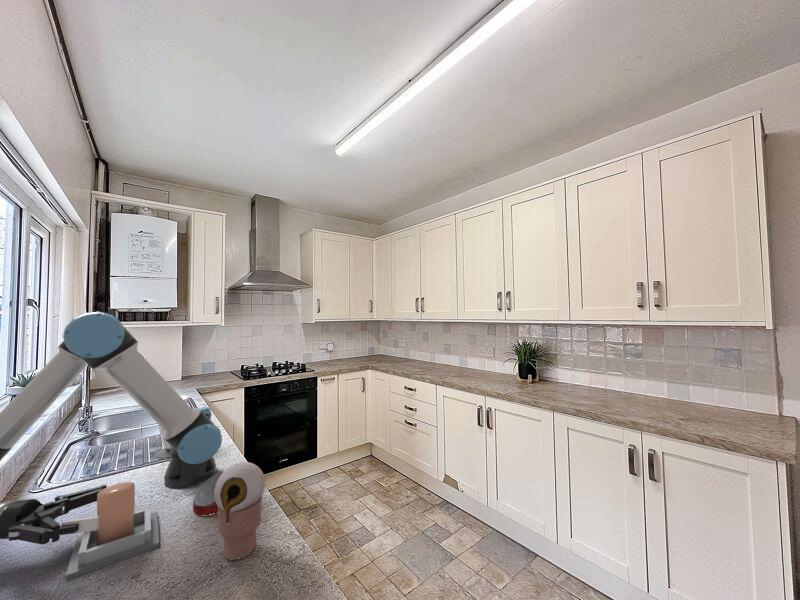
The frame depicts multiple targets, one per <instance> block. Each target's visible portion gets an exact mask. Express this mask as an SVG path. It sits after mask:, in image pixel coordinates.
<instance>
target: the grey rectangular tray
mask: <svg viewBox="0 0 800 600" xmlns="http://www.w3.org/2000/svg"><path fill="white" fill-rule="evenodd" d="M159 532H160V531H159V520H158V511H155V512H151V507H150V508H146V509H145V508H143V509H139V510H136V511H135V518H134V534H133V535H130V536H127V537H124V538H121V539H118V540H115V541H112V542H109V543H106V544H103V545H100V546H97V530H95V531H88V532H83V534H80V535H77V537H76V541H75V543H74V547H73V550H72V553H71V557H70V560H69V563H68V567H67V570H66V573H65V581H69V580H70V579H73V578H75V577H79V576H82V575H84V574H87V573H90V572H92V571H96V570H99V569H101V568H103V567H106V566H109V565H113V564H115V563H117V562H120V561H124V560H127V559H130V558H132V557H134V556H137V555H141V554H143V553H145V552H148V551H151V550H153V549H157V548H159V547H160V537H159V536H160V534H159Z"/></svg>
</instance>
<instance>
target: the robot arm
mask: <svg viewBox="0 0 800 600" xmlns="http://www.w3.org/2000/svg"><path fill="white" fill-rule="evenodd" d="M62 337H63V341H62V342H61V343H60V344H59V345H58V347H57V349H58V352H57V353H56V354H55V355H54V357H52V358H51V359H50V360H49V361H48V363H47V364H45V366H44V367H42V368H41V369H40V371H39V372H38V373H37V374H36V375H35V376H34V377H33V378H32V379H31V380H30V381H29V382H28V383H27V384H26V385H25V387H23V388H22V389H21V391H20V392H19V393H18V394H17V395H15V397H14V398H13V399H11V401H10V402H9V403H8V404H7V405H6V406H5V407H4V408H3V409H2V410H1V411H0V462H1V461H2V460H3V459H4V457H5V456H6V455H7V454H8V453H9V452H10V451H11V450H12V448H13V447H14V446H15V445H16V444H17V443H18V442H19V441H20V440H22V439H21V438H23V436H24V435H25V434H26V433H27V432H28V431H29V430H30V429H31V428H32V427H33V426H34V424H35V423H36V422H37V421H38V420H39V419H40V418H41V417H42V416H43V414H44V413H46V411H47V410H49V408H50V407H51V406H52V405H53V404H54V403H55V402H56V400H58V398H59V397H60V396H61V395H62V394H63V393H64V392H65V391H66V389H67V388H68V387H70V385H71V384H72V383H73V382H74V381H75V380H76V378H78V377H79V375H80V374H81V373H82V372H83V371H84V370H85V369H86V368H87V366H89V367H90V369H92V370H94V371H104V372H105V373H106V374H107V375H108V376H109V377H110V378H112V380H114V382H115V383H116V384H117V385H118V386H119V387H120V388H121V389H123V390H124V392H125V393H126V394H128V396H129V397H130V398H131V399H132V400H133V401H134V402H136V404H137V405H139V407H140V408H141V409H143V410H144V412H146V414H147V415H149V417H151V418H152V419H153V421H154V422H156V424H159V425H160V426H161V427H162V428H163V429H164V435H163V438H164V439H165V440H166V441H167V442H168V443H169V444H170V445H171V457H170V460H169V463H168V466H167V467H166V470H165V473H164V477H163V478H164V479H163V483H164V485H165V487H168V488H173V489H174V488H175V489H177V488H180V489H181V488H186V487H190V486H195V485H197V484H200V482H201V483H204V482H206V481H207V480H208V479H209V478H210V477H211V476H214V475H215V474H216V473H215V472H217V464H216V461H215V458H214V456H215V455H216V454H217V452H218V451H219V450H220V448H221V446H222V442H223V436H222V432H221V430H220V428H219V427H218V426H217V425H215V423H214V422H213V421H212V420H211V419H212V410H211V408H210V407H207V406H204V407H203V406H202V407H194V408H192V407H191V406H190V405H189V404H188V403H186V402H185V401H184V400H183V399H182V398H181V397H180V396H181V395H179V394H178V392H177V391H176V390H175V389H174V388H173V387H172V386H171V385H170V384H169V382H167V381H166V379H165V378H163V376H162V375H161V373H159V372H158V370H156V369H155V367H153V365H151V363H150V362H148V360H147V359H146V358H145V357H144V355H142V354H141V353H140V352H139V351H138V345H139V341H138V339H136V338H135V337H134V336H133V335H132V334H131V332H129V330H127V328H126V327H125V326H124V325H123V323H122V321H120V320H119V319H118V318H117V317H116V316H114V315H112V314H110V313H107V312H103V311H102V312H101V311H90V312H85V313H83V314H81V315H78V316H77V317H75V318H73V319H72V320H70V321H69V323H68V324H67V325H66V326H65V328H64V330H63V335H62ZM105 488H107V484H102V485H99V486H95V487H91V488H87V489H83V490H80V491H76V492H71V493H69V494H61V495H56V496H55V497H54V501H50V502H45V503H44V504H43V503H42V502H41V501H39V500H38V499H36V498H30V499H22V500H14V501H13V500H11V501H10V500H9V501H3V502H0V540H7V539H8V541H9V542H11V541H21V542H22V541H23V542H28V543H32V544H37V545H41V546H42V545H46V544H49V542H50V540H51V543H56V542H58V541H59V540H60V536H65V535H66V536H67V535H74V534H79V533H84V532H88V531H95V530H97V529H98V528H99V516H97V515H95V516H89V517H88V516H87V517H79V518H73V519H66V520H65V519H64V520H63V521H62V522H61V523H59V522H58V521H56V519H57V518H59V517H62V516H63V515H67V514H69V512H71V511H72V510H76V509H78V508H81V507H84V506H87V505H90V504H92V503H96V502H97V494H98V493H99V492H100V491H101V490H103V489H105Z"/></svg>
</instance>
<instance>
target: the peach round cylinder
mask: <svg viewBox="0 0 800 600" xmlns="http://www.w3.org/2000/svg"><path fill="white" fill-rule="evenodd" d="M135 486H136V485H135V483H134V482H133V481H132V482H131V481H125V482H119V483H115V484H113V485H110V486H108V487H107V488H105V489H103V490H101V491H100V492H99V493H98V494H97V501H96V502H97V503H96V516H99V528H98V529H97V546H100V545H103V544H106V543H109V542H112V541H115V540H118V539H121V538H124V537H127V536H130V535H133V534H134V518H135V512H136V511H135V501H136V498H135V495H136V494H135V492H136V490H135Z"/></svg>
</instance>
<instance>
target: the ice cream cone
mask: <svg viewBox="0 0 800 600" xmlns="http://www.w3.org/2000/svg"><path fill="white" fill-rule="evenodd" d="M222 472H223V473H222V474H221V476H220V477H219V479H218V481H217V483H216V486H215V490H214V498H215V502H216V504H217V506H218V513H217V515H218V533H219V535H220V536H221V537H223V556H224V558H225V557H226V558H227V559H230V560H229V561H231V560H234V561H236V560H235V559H239V558H242V557H244V556H247V555H248V554H249V553H251V552H252V551H253V550H254V548H255V549H256V547H257V532H256V531H257V528H258V527H259V526H260V524H261V520H262V504H263V503H262V500H263V494H264V491H265V487H266V486H265V485H266V480H265V479H266V478H265V475H264V473H263V472H264V471H262V469H261V468H260V467H259V466H258V465H256V464H255V463H254V462H253V463H252V462H249V461H248V462H247V461H243V462H241V461H240V462H236V463H235V464H232V465H231V466H229V467H227V468H226V469H225V470H223V471H222ZM255 546H256V547H255ZM254 551H255V550H254ZM254 551H253V552H254ZM253 552H252V553H253ZM252 553H251V554H252ZM248 556H249V555H248ZM248 556H247V557H248ZM226 558H225V559H226ZM227 559H226V560H227ZM242 559H243V558H242Z"/></svg>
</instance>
